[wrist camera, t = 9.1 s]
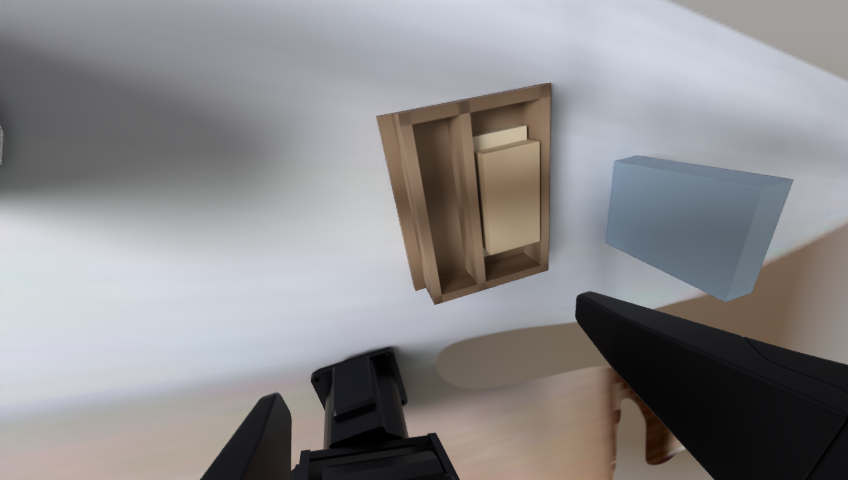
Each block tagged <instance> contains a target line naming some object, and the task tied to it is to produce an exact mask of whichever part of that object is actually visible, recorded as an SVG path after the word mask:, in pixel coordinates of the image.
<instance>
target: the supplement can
mask: <svg viewBox="0 0 848 480" xmlns="http://www.w3.org/2000/svg"><path fill="white" fill-rule="evenodd" d="M3 134H4V133H3V131H2V128H1V126H0V165H1V164H2V149H3Z"/></svg>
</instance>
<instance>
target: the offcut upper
mask: <svg viewBox="0 0 848 480" xmlns="http://www.w3.org/2000/svg"><path fill="white" fill-rule="evenodd" d="M474 160H475V171H476V181H477V192H478V202H479V213H480V224H481V234H482V245H483V248H484V249H485V250H486V251H487V252H488V253H489V254H490V255H493V254H497V253H500V252H503V251H507V250H510V249H514V248H517V247H521V246H524V245H528V244H531V243H535V242H538V241H540V141H534V140H528V139H526V140H522V141H517V142H513V143H509V144H504V145H500V146H495V147H491V148H486V149H482V150H478V151H474Z"/></svg>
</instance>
